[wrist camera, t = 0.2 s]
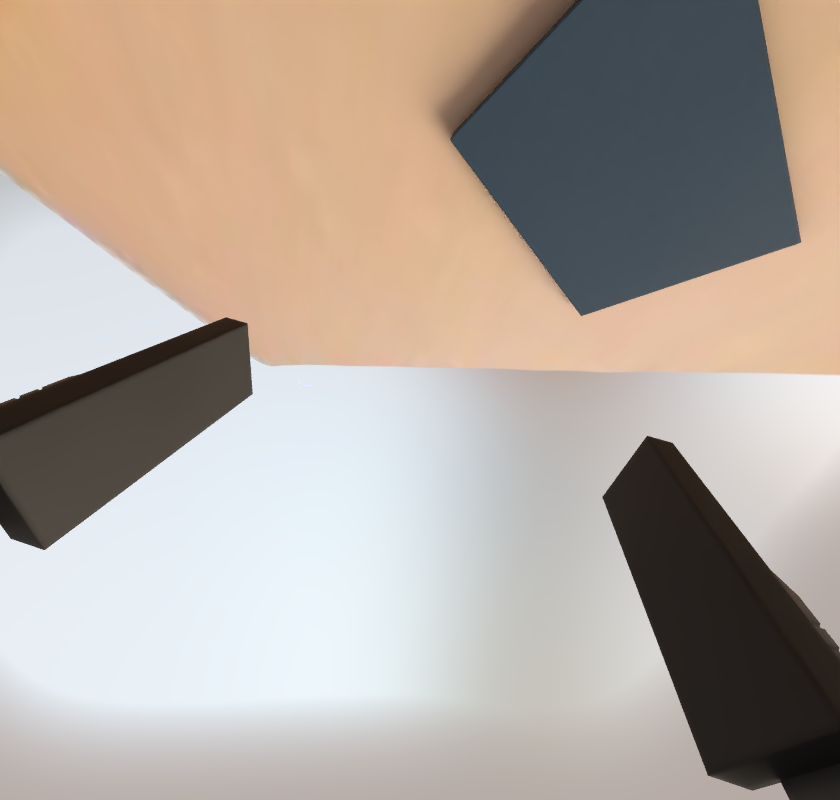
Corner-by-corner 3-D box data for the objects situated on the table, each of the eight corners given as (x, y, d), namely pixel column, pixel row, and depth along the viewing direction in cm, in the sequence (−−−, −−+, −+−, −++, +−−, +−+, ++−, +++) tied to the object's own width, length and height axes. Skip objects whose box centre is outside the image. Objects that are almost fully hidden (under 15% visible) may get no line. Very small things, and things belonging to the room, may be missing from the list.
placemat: (452, 133, 18) (449, 139, 17) (728, -161, 9) (730, -158, 9) (581, 310, 25) (581, 316, 25) (799, 235, 17) (801, 242, 17)
